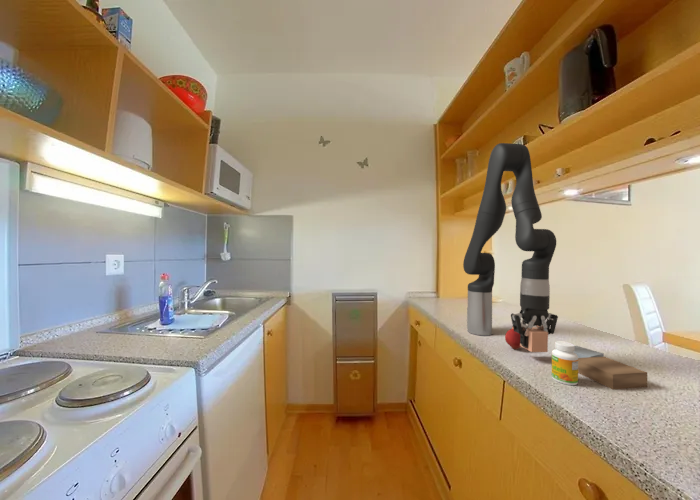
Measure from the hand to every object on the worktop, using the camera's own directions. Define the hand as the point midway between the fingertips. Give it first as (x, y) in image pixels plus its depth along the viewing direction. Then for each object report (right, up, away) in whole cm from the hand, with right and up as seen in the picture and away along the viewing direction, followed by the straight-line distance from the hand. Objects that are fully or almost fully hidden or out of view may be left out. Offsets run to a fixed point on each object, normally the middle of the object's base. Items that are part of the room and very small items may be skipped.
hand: (533, 346), depth 82 cm
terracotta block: (0, -1, 0) cm, 1 cm away
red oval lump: (0, -4, +8) cm, 9 cm away
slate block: (+13, -4, -3) cm, 14 cm away
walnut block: (+12, -4, -12) cm, 17 cm away
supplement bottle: (-1, -4, -13) cm, 14 cm away
